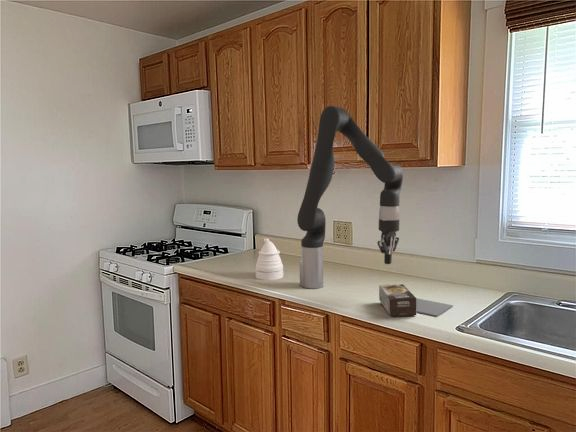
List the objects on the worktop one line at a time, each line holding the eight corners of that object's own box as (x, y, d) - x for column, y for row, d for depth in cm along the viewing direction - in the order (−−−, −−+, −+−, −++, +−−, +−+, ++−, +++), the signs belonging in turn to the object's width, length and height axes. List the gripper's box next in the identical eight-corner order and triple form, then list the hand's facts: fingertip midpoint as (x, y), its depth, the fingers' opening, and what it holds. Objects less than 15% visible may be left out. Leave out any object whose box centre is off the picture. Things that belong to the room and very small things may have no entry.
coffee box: (402, 282, 164) (417, 297, 148) (402, 299, 165) (417, 315, 149) (378, 284, 164) (390, 299, 148) (378, 300, 165) (390, 317, 149)
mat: (393, 307, 159) (393, 306, 159) (410, 298, 169) (411, 297, 169) (437, 316, 148) (437, 315, 148) (452, 306, 159) (452, 305, 159)
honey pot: (273, 281, 198) (272, 241, 196) (250, 277, 204) (249, 239, 202) (288, 275, 208) (288, 237, 206) (266, 271, 215) (265, 235, 213)
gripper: (388, 215, 172) (387, 259, 174) (371, 218, 162) (370, 265, 164) (406, 217, 167) (405, 262, 169) (389, 220, 157) (388, 268, 159)
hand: (387, 263), depth 166 cm, fingers closed
